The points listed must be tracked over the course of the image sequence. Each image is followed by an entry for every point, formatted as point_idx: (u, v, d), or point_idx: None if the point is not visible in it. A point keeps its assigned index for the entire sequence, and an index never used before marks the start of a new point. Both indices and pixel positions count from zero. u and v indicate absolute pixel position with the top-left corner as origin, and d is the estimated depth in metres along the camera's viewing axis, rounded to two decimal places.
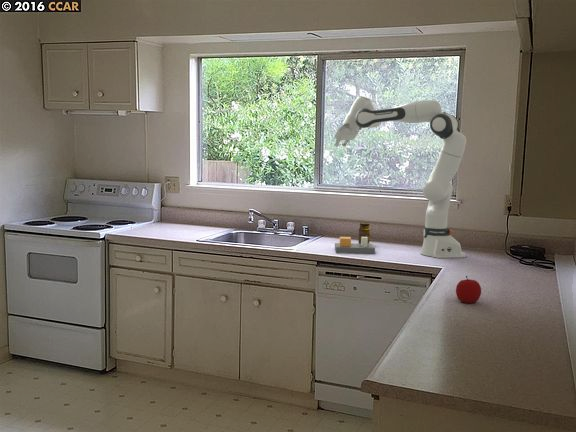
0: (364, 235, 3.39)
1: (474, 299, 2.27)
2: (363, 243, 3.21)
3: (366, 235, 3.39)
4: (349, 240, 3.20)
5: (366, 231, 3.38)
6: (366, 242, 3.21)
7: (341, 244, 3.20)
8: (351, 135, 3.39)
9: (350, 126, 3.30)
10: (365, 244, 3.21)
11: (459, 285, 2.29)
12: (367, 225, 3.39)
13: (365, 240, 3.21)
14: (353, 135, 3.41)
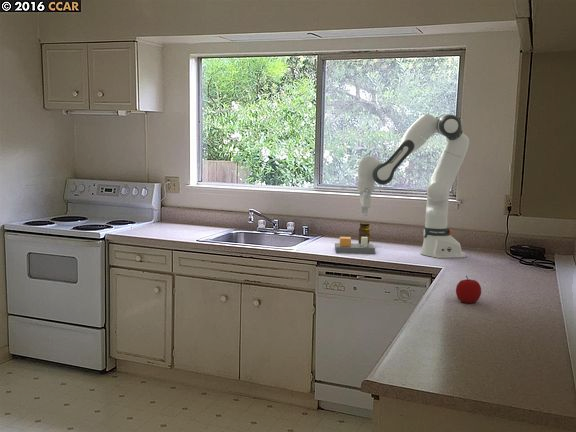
0: (364, 235, 3.39)
1: (474, 299, 2.27)
2: (363, 243, 3.21)
3: (366, 235, 3.39)
4: (349, 240, 3.20)
5: (366, 231, 3.38)
6: (366, 242, 3.21)
7: (341, 244, 3.20)
8: None
9: (369, 190, 3.15)
10: (365, 244, 3.21)
11: (459, 285, 2.29)
12: (367, 225, 3.39)
13: (365, 240, 3.21)
14: (367, 198, 3.26)
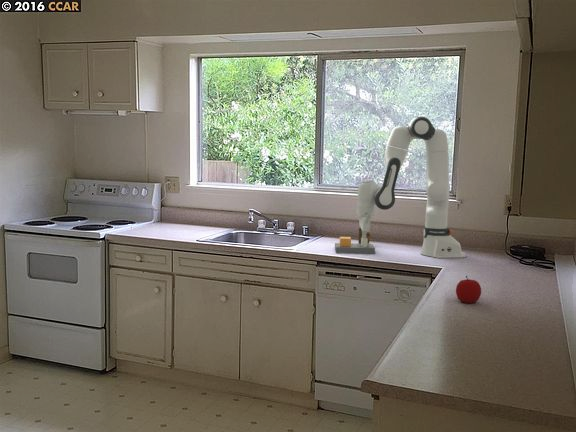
0: None
1: (474, 299, 2.27)
2: (363, 244, 3.21)
3: (366, 235, 3.39)
4: (349, 240, 3.20)
5: None
6: (366, 243, 3.21)
7: (341, 244, 3.20)
8: None
9: (369, 214, 3.16)
10: (365, 245, 3.21)
11: (459, 285, 2.29)
12: None
13: (365, 241, 3.21)
14: None
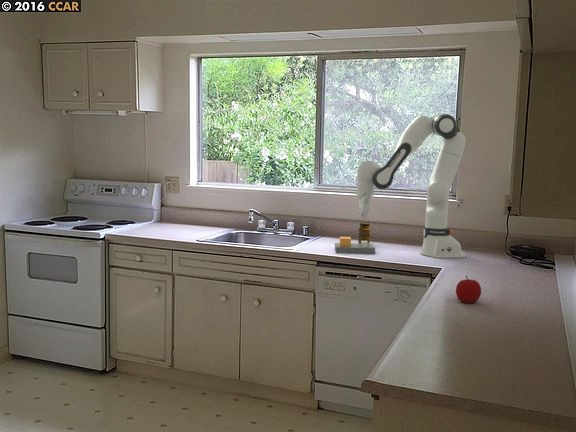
0: (364, 235, 3.39)
1: (474, 299, 2.27)
2: None
3: (366, 235, 3.39)
4: (349, 240, 3.20)
5: (366, 231, 3.38)
6: None
7: (341, 244, 3.20)
8: None
9: (369, 194, 3.15)
10: None
11: (459, 285, 2.29)
12: (367, 225, 3.39)
13: (365, 244, 3.21)
14: None
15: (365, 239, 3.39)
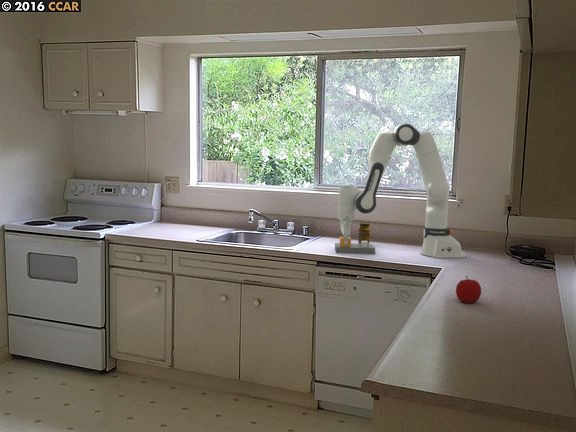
0: (364, 235, 3.39)
1: (474, 299, 2.27)
2: None
3: (366, 235, 3.39)
4: (349, 240, 3.20)
5: (366, 231, 3.38)
6: None
7: (341, 244, 3.20)
8: None
9: (349, 218, 3.17)
10: None
11: (459, 285, 2.29)
12: (367, 225, 3.39)
13: (365, 244, 3.21)
14: None
15: (365, 239, 3.39)
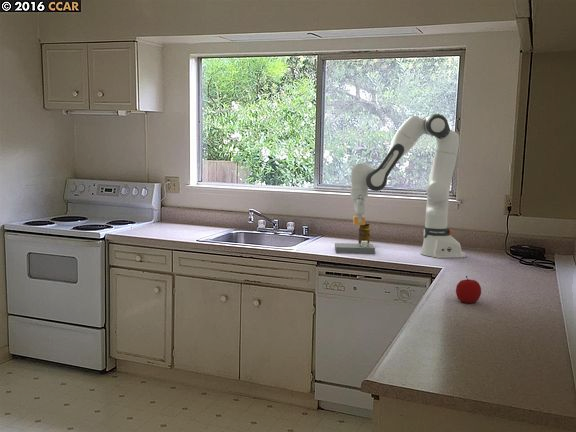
0: (364, 235, 3.39)
1: (474, 299, 2.27)
2: None
3: (366, 235, 3.39)
4: (363, 218, 3.18)
5: (366, 231, 3.38)
6: None
7: (355, 223, 3.18)
8: None
9: (363, 196, 3.15)
10: None
11: (459, 285, 2.29)
12: (367, 225, 3.39)
13: (365, 244, 3.21)
14: None
15: (365, 239, 3.39)
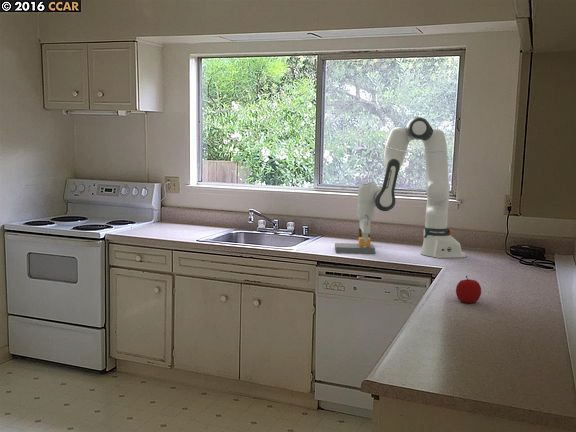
0: None
1: (474, 299, 2.27)
2: None
3: None
4: (368, 241, 3.19)
5: None
6: None
7: (360, 245, 3.20)
8: None
9: (369, 216, 3.16)
10: None
11: (459, 285, 2.29)
12: None
13: None
14: None
15: None
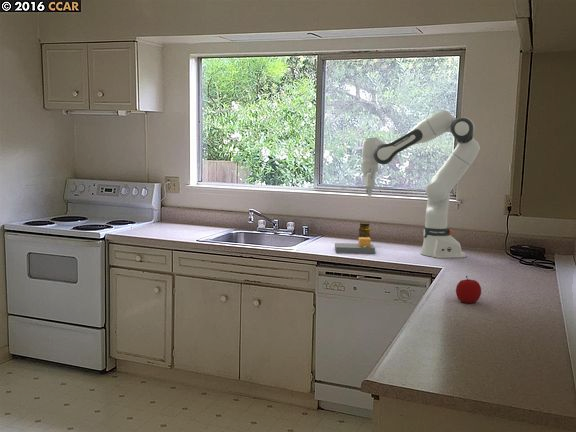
0: (364, 235, 3.39)
1: (474, 299, 2.27)
2: None
3: (366, 235, 3.39)
4: (368, 241, 3.19)
5: (366, 231, 3.38)
6: None
7: (360, 245, 3.20)
8: None
9: (373, 170, 3.20)
10: None
11: (459, 285, 2.29)
12: (367, 225, 3.39)
13: None
14: (371, 179, 3.31)
15: None
